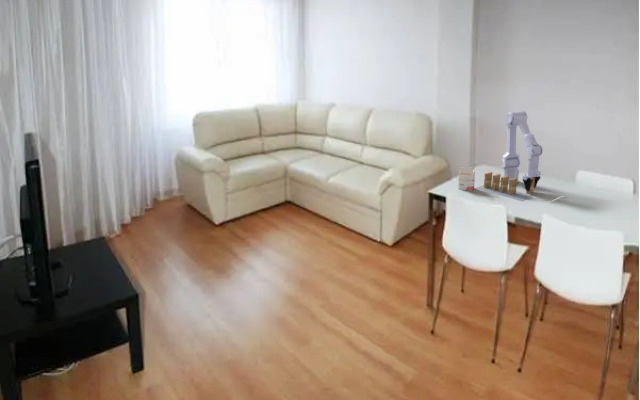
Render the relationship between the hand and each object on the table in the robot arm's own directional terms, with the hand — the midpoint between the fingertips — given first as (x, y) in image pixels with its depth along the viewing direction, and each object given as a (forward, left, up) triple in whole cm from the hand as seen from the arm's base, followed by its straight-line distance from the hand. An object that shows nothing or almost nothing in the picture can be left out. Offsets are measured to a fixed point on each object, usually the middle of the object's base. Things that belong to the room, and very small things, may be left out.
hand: (530, 189), depth 274 cm
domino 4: (+9, -5, -2) cm, 11 cm away
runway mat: (+10, -10, -2) cm, 14 cm away
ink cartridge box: (+20, -29, -3) cm, 35 cm away
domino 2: (+9, -16, -2) cm, 19 cm away
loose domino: (0, 0, -2) cm, 2 cm away
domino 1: (+9, -22, -2) cm, 24 cm away
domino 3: (+9, -11, -2) cm, 14 cm away
